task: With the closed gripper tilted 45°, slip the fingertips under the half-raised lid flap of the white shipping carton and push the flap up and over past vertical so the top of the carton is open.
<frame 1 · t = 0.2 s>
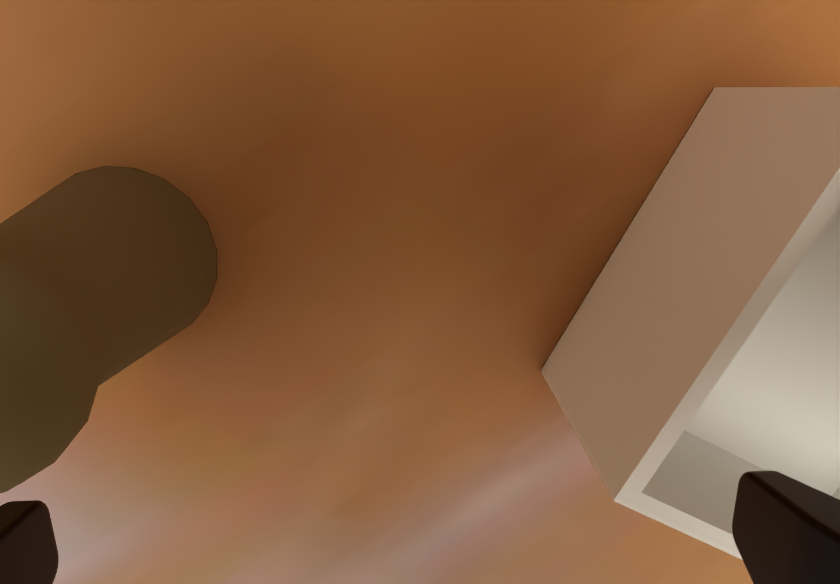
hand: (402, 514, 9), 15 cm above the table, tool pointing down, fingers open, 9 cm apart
cork: (126, 257, 23), on the table
carton: (773, 318, 24), on the table
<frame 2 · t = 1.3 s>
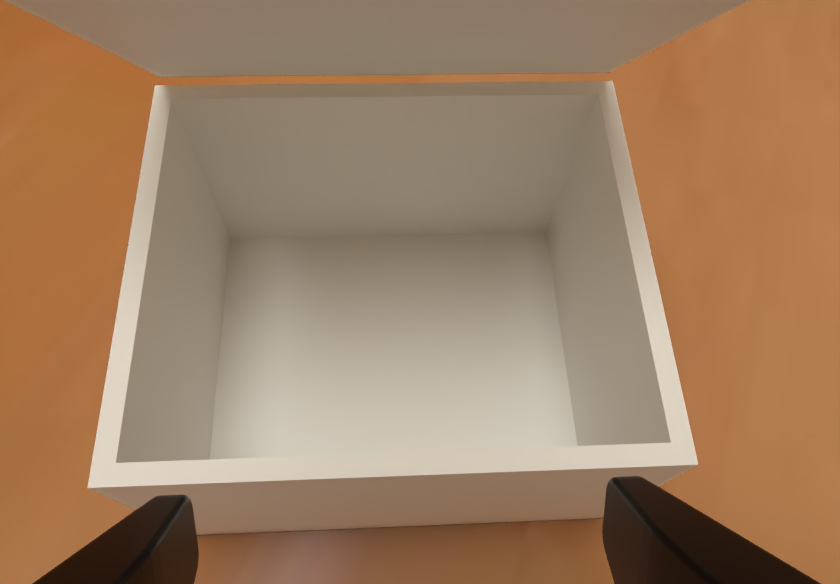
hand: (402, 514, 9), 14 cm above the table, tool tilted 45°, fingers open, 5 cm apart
carton: (393, 363, 24), on the table
carton flap: (388, 20, 14), point 13 cm above the table, hinge at 55.0°
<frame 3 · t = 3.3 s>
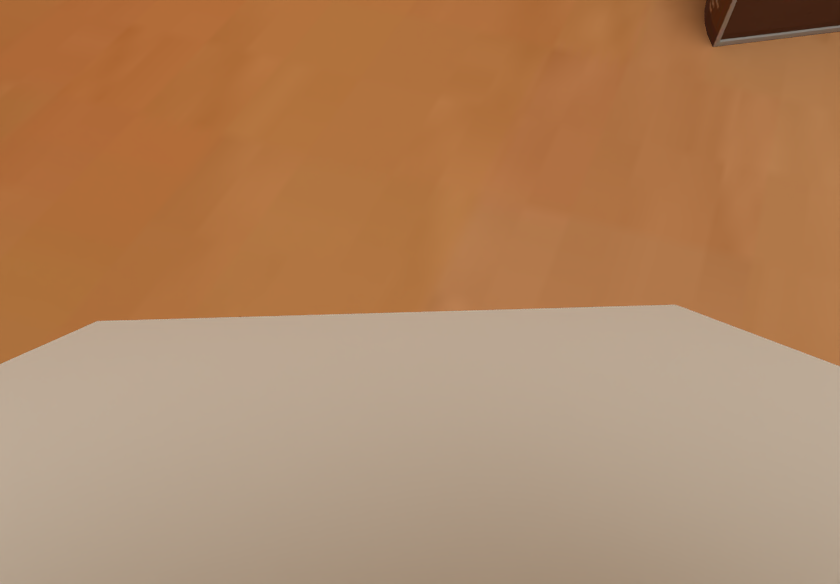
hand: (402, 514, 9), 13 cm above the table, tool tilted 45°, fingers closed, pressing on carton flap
carton flap: (398, 392, 10), point 13 cm above the table, hinge at 55.0°, touching gripper
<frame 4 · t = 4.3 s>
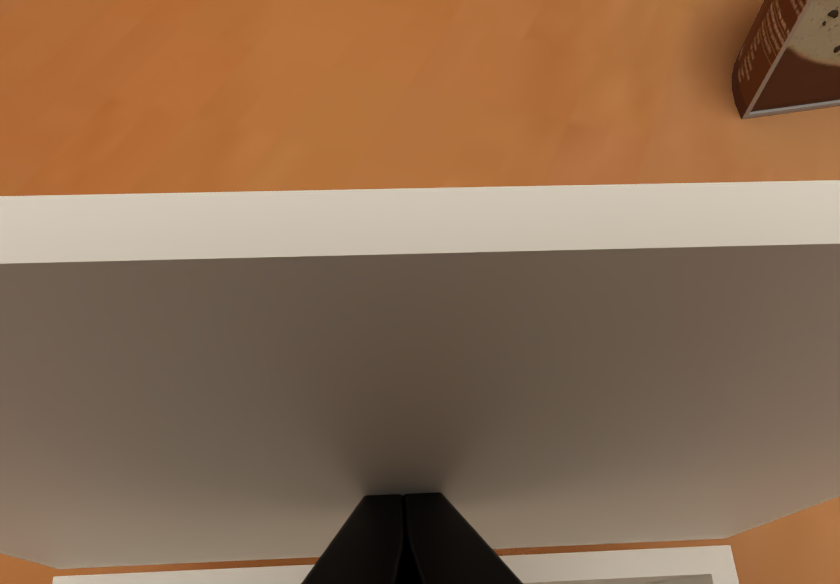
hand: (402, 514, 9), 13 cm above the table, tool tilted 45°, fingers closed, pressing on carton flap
food container: (809, 55, 31), on the table
carton flap: (402, 474, 8), point 14 cm above the table, hinge at 92.7°, touching gripper
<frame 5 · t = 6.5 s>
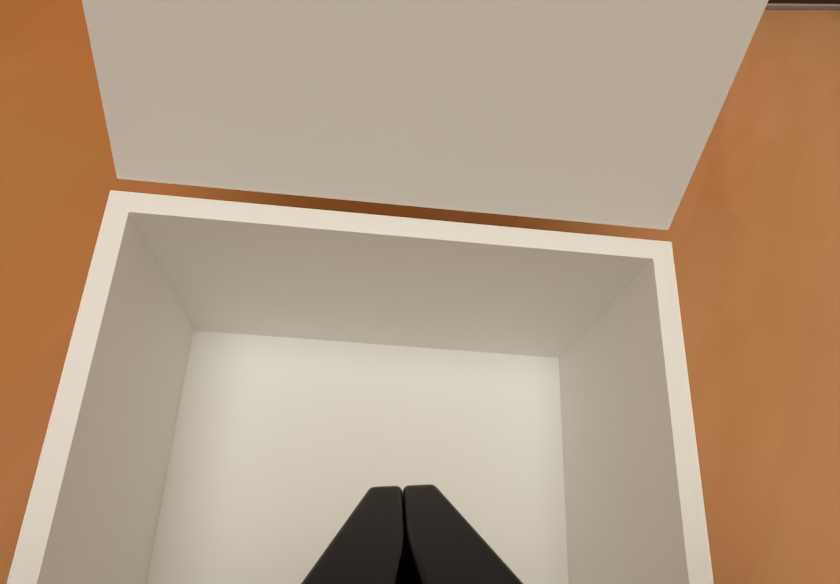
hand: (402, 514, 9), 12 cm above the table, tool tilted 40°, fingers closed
carton: (368, 504, 21), on the table
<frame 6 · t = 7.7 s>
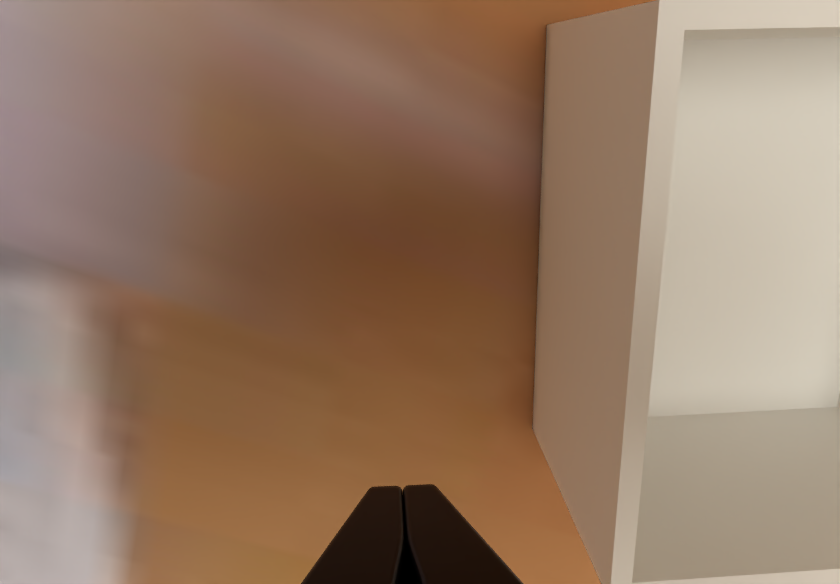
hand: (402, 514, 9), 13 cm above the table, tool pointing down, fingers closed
carton: (708, 239, 22), on the table
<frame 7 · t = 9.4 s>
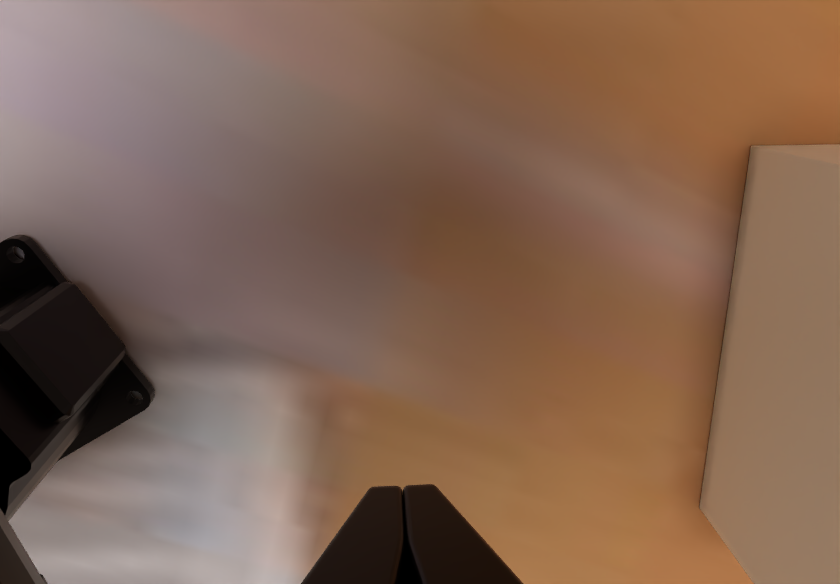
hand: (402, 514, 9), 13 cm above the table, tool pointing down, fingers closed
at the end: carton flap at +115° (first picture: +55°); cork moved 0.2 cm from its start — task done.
